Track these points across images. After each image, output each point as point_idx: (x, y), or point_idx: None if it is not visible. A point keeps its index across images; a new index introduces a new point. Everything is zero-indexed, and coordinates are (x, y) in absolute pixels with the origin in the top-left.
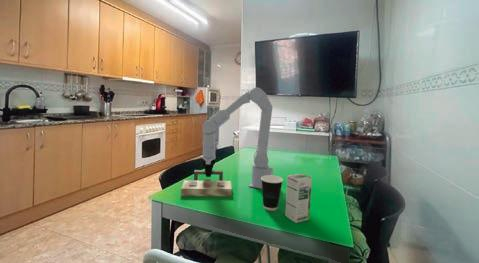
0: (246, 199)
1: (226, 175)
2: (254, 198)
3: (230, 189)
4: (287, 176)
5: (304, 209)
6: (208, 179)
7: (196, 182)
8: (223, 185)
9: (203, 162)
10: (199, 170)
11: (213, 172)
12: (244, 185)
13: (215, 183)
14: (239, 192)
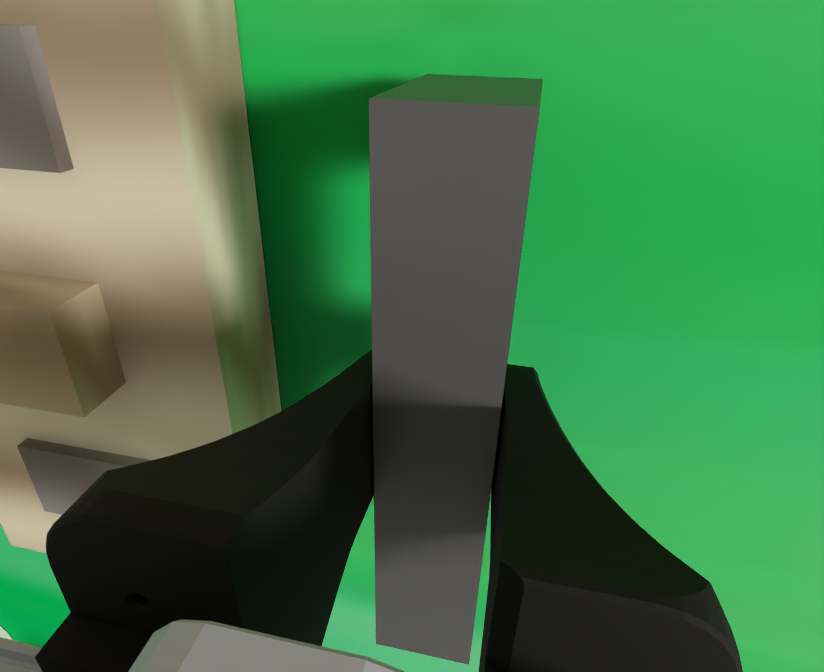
0: (49, 564)
1: (799, 603)
2: None
3: (12, 532)
4: None
5: None
6: (63, 382)
7: (22, 160)
8: (43, 504)
9: (63, 546)
10: (485, 261)
11: (380, 516)
12: (369, 647)
13: (122, 434)
14: None
